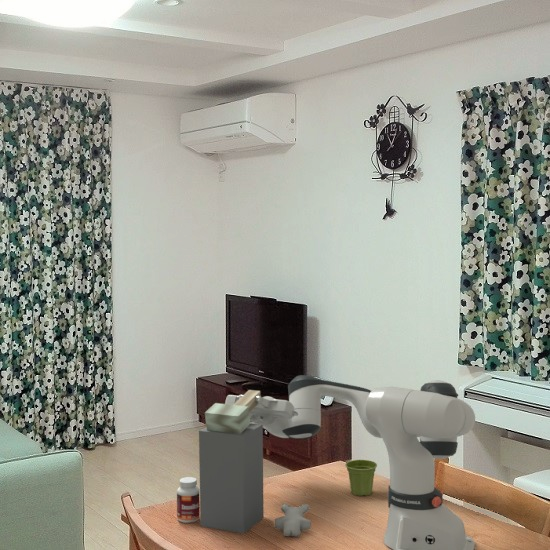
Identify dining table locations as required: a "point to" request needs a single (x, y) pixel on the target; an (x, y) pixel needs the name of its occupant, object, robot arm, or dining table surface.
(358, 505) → the dining table surface
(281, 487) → the dining table surface
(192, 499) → the pill bottle
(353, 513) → the dining table surface
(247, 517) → the stand
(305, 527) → the grey soft figure
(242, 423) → the mallet
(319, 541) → the dining table surface
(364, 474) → the plant pot
